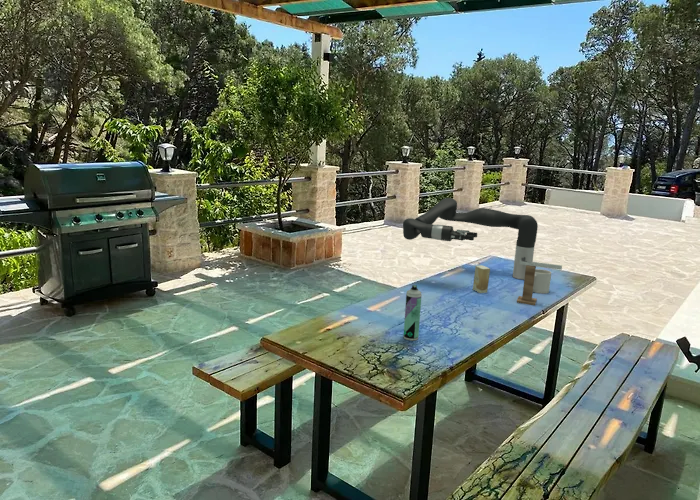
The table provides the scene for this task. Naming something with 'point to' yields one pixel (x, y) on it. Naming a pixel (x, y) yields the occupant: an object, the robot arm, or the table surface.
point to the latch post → (528, 287)
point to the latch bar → (539, 264)
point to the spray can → (412, 314)
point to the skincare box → (481, 279)
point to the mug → (542, 281)
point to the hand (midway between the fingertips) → (475, 236)
